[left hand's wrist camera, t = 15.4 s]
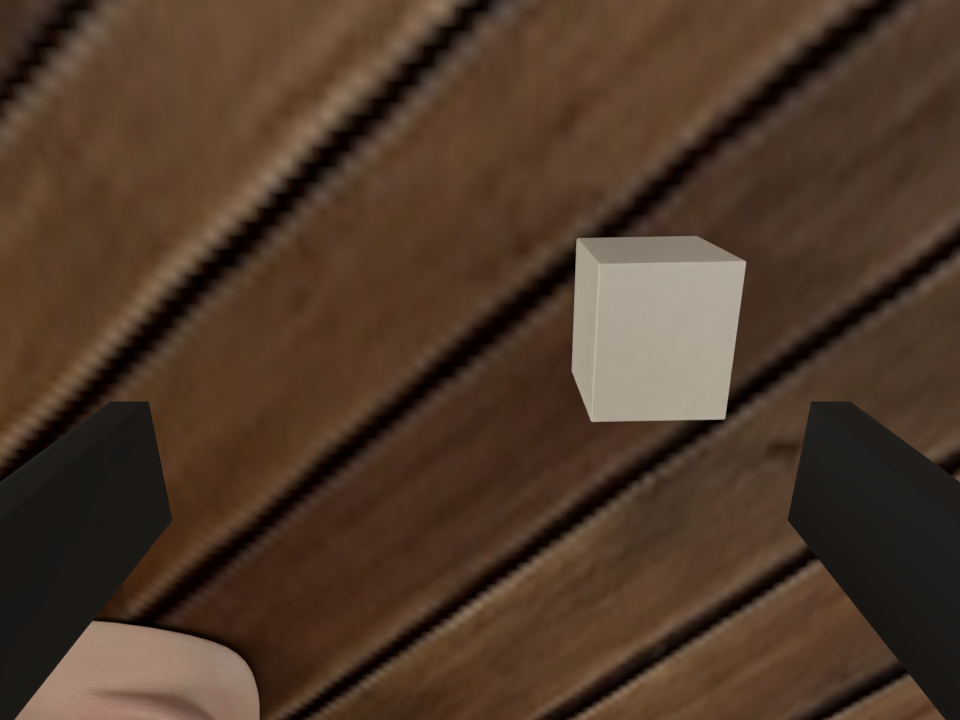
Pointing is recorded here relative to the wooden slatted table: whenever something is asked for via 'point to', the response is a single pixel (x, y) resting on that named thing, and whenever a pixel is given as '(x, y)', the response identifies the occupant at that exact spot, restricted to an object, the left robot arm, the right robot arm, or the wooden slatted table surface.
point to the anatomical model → (145, 679)
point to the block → (655, 327)
